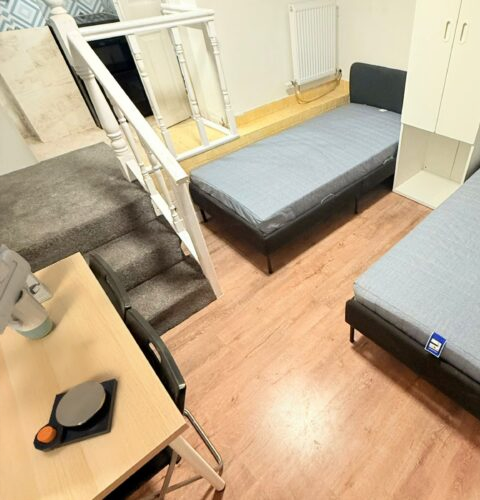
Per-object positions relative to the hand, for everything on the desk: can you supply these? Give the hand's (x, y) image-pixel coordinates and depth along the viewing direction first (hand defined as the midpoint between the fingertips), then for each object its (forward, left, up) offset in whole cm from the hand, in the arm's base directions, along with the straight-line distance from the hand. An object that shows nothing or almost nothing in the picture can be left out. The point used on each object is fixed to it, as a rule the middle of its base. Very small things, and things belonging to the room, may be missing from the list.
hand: (24, 312), depth 76 cm
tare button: (-1, -20, -20) cm, 29 cm away
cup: (-13, +14, -24) cm, 31 cm away
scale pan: (+5, -15, -20) cm, 25 cm away
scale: (+4, -16, -24) cm, 29 cm away
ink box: (-18, +30, -24) cm, 43 cm away
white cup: (0, 0, -3) cm, 3 cm away
